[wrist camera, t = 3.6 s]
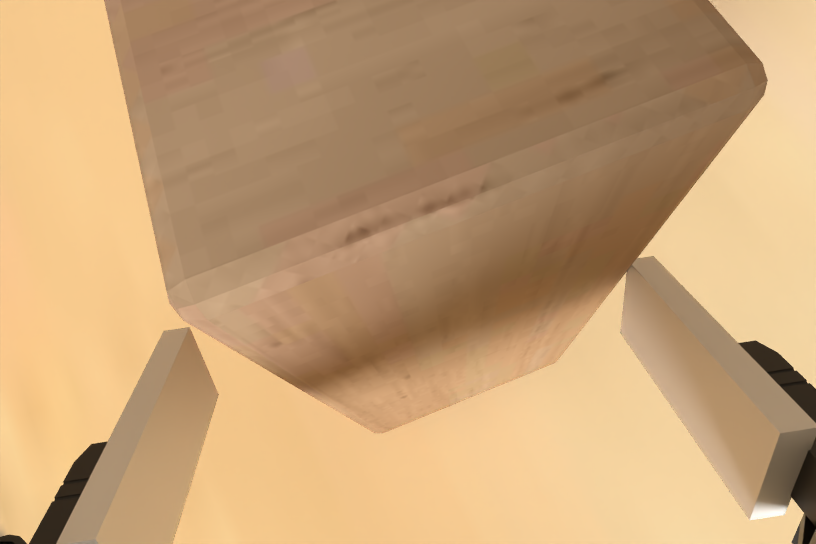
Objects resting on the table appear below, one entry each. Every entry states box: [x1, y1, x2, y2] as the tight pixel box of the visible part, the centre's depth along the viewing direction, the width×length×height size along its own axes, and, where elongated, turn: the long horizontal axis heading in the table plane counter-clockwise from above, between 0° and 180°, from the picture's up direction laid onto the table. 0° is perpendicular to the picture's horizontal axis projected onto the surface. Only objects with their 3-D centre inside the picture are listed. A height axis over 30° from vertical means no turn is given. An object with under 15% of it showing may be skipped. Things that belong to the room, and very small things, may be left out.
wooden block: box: [104, 0, 768, 433], centre depth 19 cm, size 10×10×20 cm
